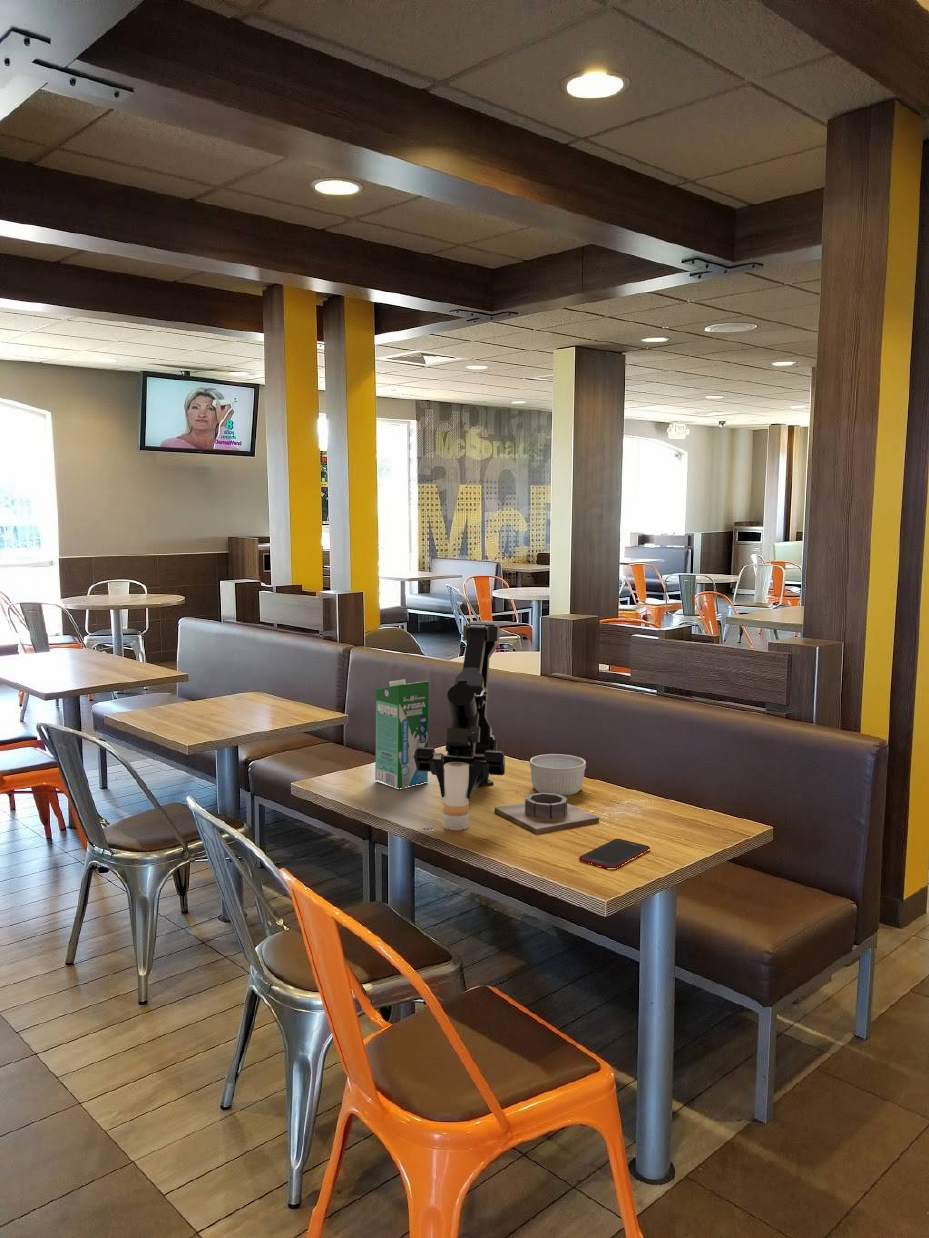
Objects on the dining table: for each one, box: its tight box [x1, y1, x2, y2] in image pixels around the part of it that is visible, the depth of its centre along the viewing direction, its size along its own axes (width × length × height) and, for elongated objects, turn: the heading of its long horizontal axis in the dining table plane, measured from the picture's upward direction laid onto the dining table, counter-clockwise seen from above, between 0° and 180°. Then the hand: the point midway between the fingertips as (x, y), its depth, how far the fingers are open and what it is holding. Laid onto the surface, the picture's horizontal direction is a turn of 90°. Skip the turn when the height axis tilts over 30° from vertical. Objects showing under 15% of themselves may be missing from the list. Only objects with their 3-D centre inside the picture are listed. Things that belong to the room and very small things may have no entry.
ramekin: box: [529, 753, 587, 796], centre depth 221 cm, size 13×13×7 cm
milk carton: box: [374, 678, 430, 789], centre depth 224 cm, size 9×9×25 cm
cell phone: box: [578, 838, 651, 869], centre depth 178 cm, size 8×15×1 cm, turn 141°
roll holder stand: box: [494, 792, 600, 835], centre depth 200 cm, size 16×16×4 cm
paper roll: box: [443, 762, 470, 831], centre depth 193 cm, size 5×5×13 cm
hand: (455, 797), depth 191 cm, fingers closed on paper roll, 5 cm apart
